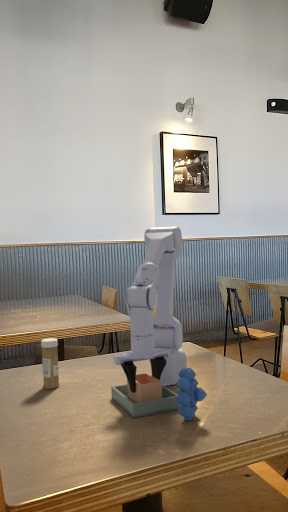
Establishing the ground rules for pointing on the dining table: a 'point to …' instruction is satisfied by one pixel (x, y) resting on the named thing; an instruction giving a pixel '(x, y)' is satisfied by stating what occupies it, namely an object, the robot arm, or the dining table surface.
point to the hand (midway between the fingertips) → (144, 389)
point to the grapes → (188, 393)
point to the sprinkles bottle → (50, 363)
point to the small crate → (145, 388)
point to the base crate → (147, 407)
